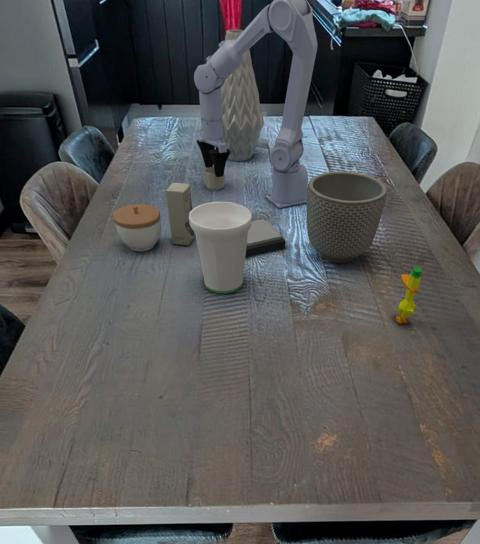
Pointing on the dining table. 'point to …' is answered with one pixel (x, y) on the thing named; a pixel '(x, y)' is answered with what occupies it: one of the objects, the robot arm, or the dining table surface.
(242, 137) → the vase
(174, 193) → the box
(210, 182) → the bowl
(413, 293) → the toy figure
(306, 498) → the dining table surface
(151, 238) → the trinket box
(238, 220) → the cup
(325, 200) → the planter
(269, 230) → the scale
